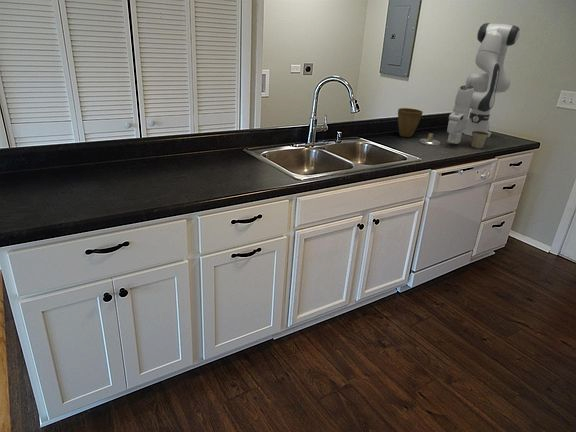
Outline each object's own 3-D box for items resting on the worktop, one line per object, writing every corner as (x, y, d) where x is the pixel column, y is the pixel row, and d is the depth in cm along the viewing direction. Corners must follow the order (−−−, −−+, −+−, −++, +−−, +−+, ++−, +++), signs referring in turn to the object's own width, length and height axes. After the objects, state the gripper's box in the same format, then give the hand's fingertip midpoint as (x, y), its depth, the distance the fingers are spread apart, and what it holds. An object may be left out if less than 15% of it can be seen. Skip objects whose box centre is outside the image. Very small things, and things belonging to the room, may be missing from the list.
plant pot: (389, 133, 256) (393, 108, 249) (406, 132, 263) (410, 107, 256) (405, 139, 244) (410, 113, 238) (422, 137, 251) (428, 112, 244)
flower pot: (475, 149, 231) (479, 134, 227) (464, 145, 239) (468, 131, 236) (488, 149, 234) (492, 134, 230) (478, 145, 242) (481, 130, 238)
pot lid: (424, 139, 247) (426, 130, 245) (443, 143, 240) (445, 134, 238) (415, 142, 239) (417, 133, 237) (434, 146, 232) (436, 137, 229)
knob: (450, 139, 241) (453, 128, 238) (461, 142, 238) (463, 130, 235) (446, 141, 237) (448, 130, 234) (457, 144, 233) (459, 132, 230)
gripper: (461, 111, 239) (456, 134, 245) (447, 116, 225) (442, 140, 231) (472, 113, 235) (466, 136, 242) (458, 118, 222) (453, 142, 228)
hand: (454, 138), depth 236 cm, fingers closed on knob, 6 cm apart
